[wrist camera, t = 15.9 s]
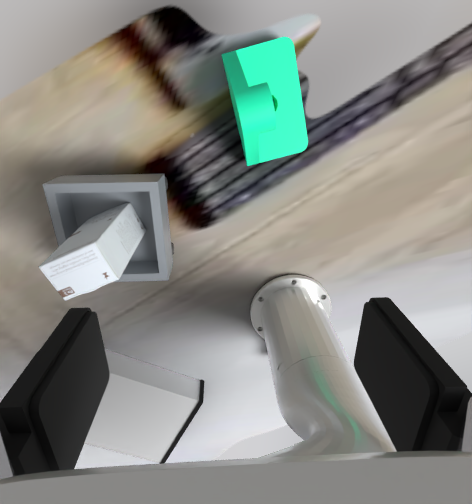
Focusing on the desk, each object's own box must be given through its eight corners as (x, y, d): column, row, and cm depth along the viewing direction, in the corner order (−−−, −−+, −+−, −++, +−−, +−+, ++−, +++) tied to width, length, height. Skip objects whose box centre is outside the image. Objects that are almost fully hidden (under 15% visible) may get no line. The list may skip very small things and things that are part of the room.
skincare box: (129, 199, 39) (94, 237, 28) (148, 232, 41) (122, 279, 30) (85, 219, 40) (33, 264, 28) (105, 250, 41) (63, 303, 30)
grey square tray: (175, 254, 46) (168, 280, 40) (90, 256, 46) (68, 283, 39) (167, 169, 41) (157, 181, 35) (71, 170, 41) (42, 184, 34)
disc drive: (167, 440, 63) (163, 466, 59) (49, 407, 58) (34, 433, 54) (205, 378, 57) (203, 402, 53) (76, 335, 52) (63, 358, 47)
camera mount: (304, 147, 41) (329, 159, 32) (245, 162, 42) (253, 179, 32) (287, 38, 36) (311, 16, 27) (221, 57, 37) (222, 41, 27)
